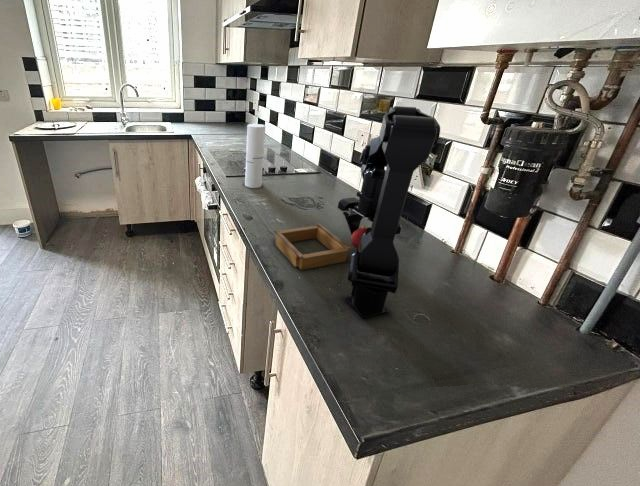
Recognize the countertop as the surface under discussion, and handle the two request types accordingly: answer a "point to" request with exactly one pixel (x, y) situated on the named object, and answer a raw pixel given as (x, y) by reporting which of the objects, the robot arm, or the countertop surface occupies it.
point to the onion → (357, 236)
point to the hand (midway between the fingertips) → (361, 242)
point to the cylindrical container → (254, 155)
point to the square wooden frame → (311, 260)
